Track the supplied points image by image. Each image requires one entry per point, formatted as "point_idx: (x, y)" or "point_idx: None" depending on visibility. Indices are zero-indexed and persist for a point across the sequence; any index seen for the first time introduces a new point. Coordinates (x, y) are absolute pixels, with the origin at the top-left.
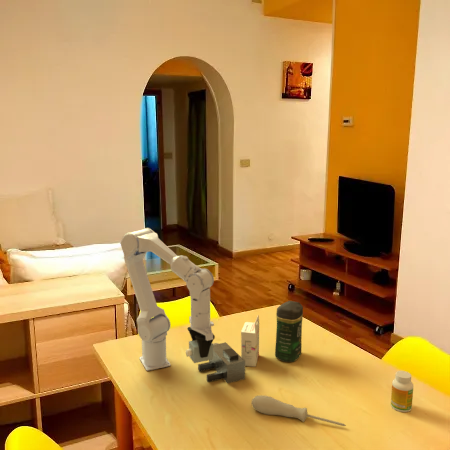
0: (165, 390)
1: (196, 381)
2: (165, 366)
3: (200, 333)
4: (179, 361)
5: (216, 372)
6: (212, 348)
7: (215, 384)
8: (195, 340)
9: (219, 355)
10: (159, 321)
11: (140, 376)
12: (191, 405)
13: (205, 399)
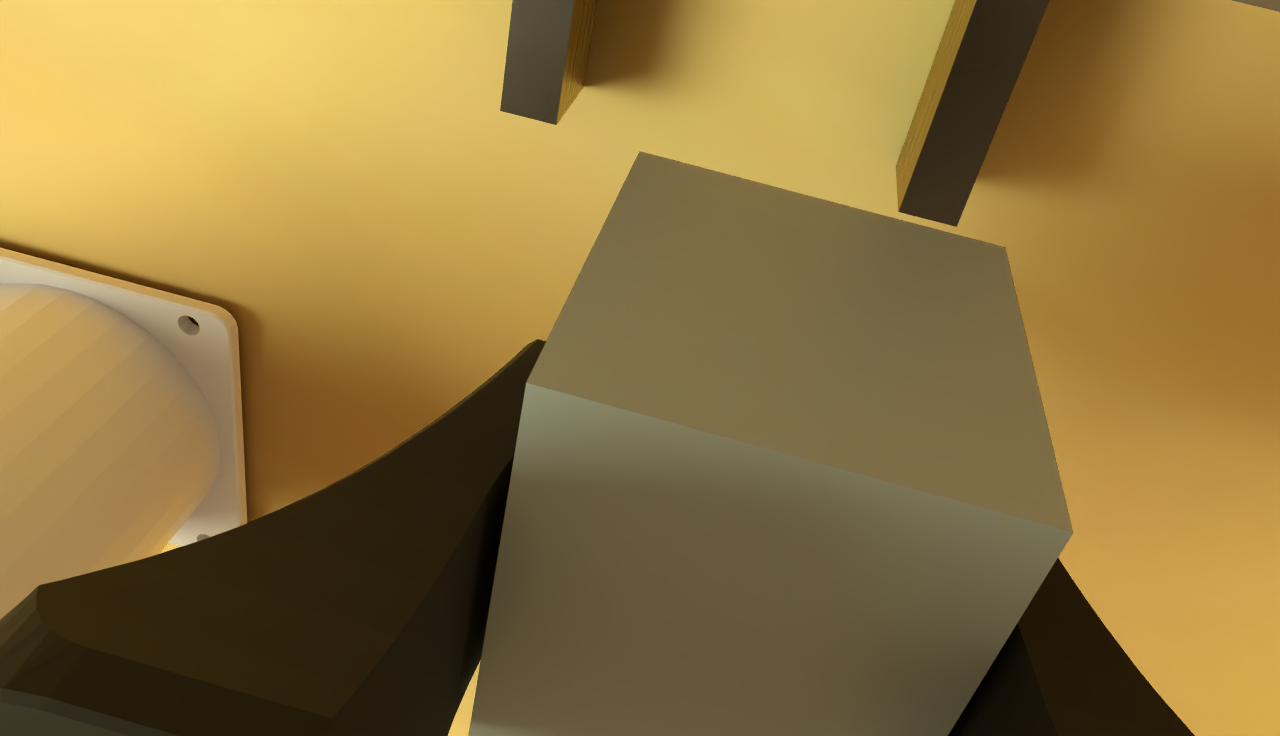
0: None
1: None
2: (237, 378)
3: (405, 710)
4: (145, 138)
5: (972, 21)
6: (1037, 433)
7: (1094, 123)
8: (498, 691)
9: None
10: None
11: None
12: (1209, 624)
13: (1268, 460)
